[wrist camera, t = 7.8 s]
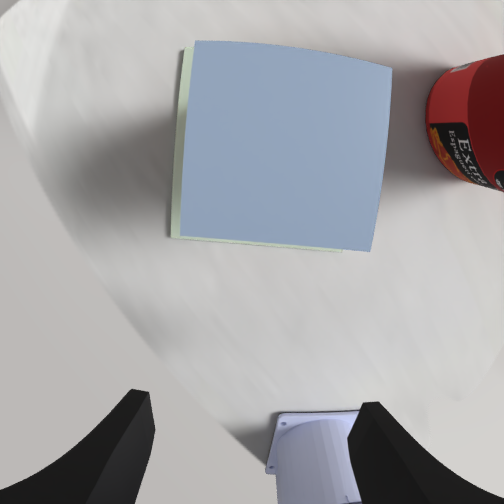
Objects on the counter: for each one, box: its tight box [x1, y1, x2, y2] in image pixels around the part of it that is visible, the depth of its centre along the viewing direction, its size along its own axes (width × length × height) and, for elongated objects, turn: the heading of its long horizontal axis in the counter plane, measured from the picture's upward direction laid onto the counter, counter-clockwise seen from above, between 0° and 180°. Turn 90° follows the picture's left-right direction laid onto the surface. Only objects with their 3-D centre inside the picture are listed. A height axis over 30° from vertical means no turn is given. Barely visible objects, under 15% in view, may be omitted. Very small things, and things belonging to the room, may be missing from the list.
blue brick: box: [180, 41, 392, 252], centre depth 10 cm, size 5×5×5 cm
